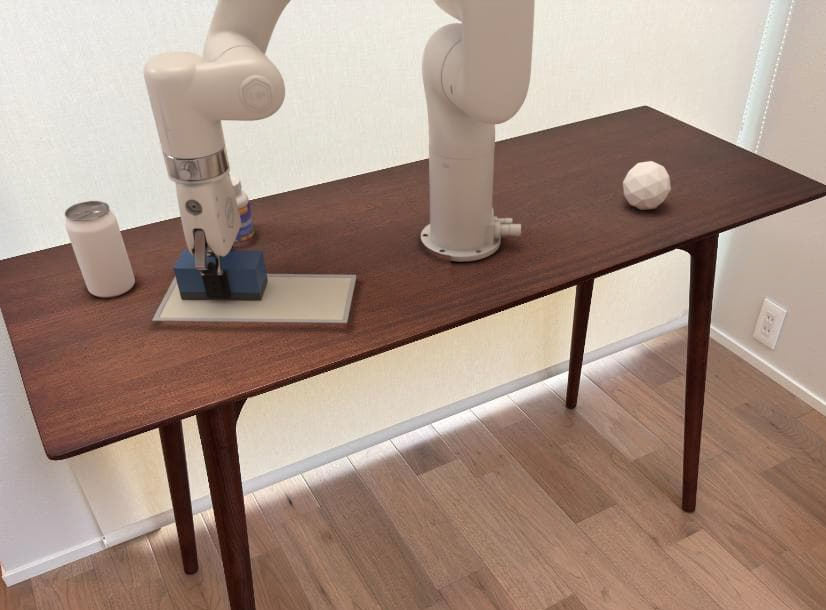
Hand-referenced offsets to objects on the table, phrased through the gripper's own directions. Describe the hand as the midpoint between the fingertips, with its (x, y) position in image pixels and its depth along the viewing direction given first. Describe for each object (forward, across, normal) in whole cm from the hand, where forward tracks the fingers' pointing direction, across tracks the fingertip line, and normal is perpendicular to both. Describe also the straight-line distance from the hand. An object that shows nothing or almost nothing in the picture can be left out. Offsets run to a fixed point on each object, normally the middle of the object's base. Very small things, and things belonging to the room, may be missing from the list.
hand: (224, 284), depth 109 cm
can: (+2, +3, +17) cm, 17 cm away
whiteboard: (+2, -2, -5) cm, 6 cm away
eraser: (+1, 0, 0) cm, 1 cm away
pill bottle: (+2, +16, +2) cm, 17 cm away
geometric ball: (+2, +29, -64) cm, 71 cm away
